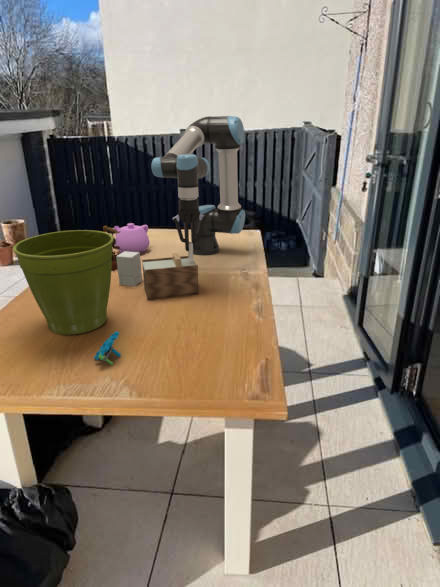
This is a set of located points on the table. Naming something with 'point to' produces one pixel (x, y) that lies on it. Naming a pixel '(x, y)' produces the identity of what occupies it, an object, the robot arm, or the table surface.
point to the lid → (168, 263)
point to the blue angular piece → (107, 348)
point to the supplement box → (129, 268)
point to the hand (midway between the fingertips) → (190, 258)
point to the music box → (114, 260)
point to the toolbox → (170, 280)
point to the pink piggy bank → (132, 238)
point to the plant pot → (69, 277)
